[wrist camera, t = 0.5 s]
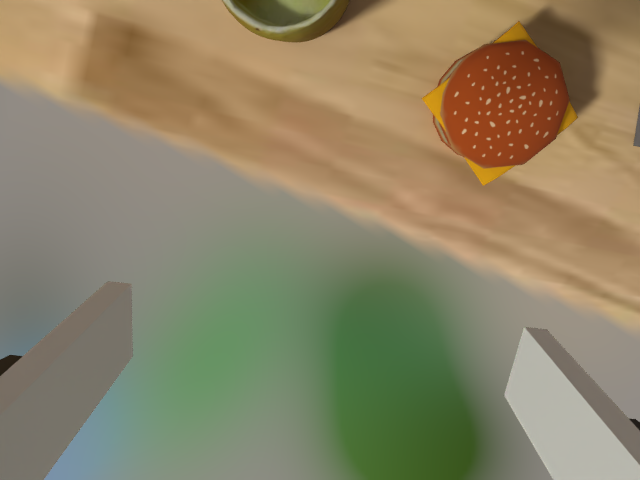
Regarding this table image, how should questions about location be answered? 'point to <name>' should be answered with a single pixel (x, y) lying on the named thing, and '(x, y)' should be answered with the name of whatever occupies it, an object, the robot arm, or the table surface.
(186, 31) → the table surface
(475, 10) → the table surface
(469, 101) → the hamburger
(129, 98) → the table surface
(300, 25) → the mug
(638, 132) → the camera body
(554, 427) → the robot arm
